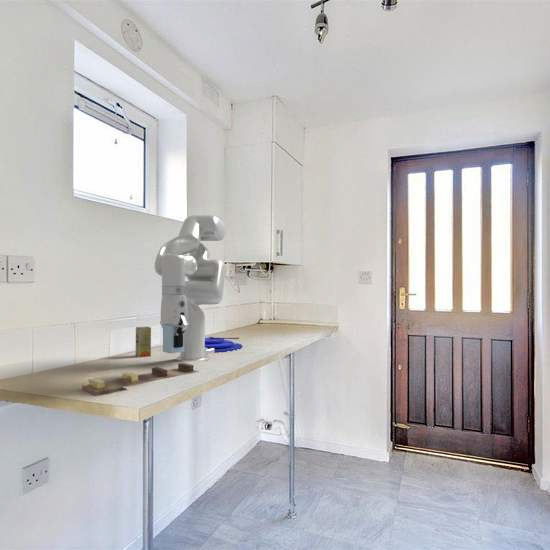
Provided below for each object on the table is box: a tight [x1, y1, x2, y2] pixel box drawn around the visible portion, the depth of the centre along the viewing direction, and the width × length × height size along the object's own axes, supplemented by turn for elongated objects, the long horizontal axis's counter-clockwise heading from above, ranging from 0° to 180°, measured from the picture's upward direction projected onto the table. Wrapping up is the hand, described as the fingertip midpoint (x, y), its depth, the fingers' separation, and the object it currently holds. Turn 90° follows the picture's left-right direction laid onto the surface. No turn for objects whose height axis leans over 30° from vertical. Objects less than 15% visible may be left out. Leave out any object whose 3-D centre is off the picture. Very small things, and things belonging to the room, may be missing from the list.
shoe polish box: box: [135, 325, 152, 358], centre depth 167 cm, size 5×5×12 cm
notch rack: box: [81, 362, 200, 396], centre depth 123 cm, size 34×10×3 cm, turn 137°
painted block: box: [162, 324, 184, 354], centre depth 131 cm, size 5×5×9 cm
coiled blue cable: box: [205, 336, 243, 354], centre depth 189 cm, size 30×6×30 cm
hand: (173, 345), depth 131 cm, fingers closed on painted block, 5 cm apart
